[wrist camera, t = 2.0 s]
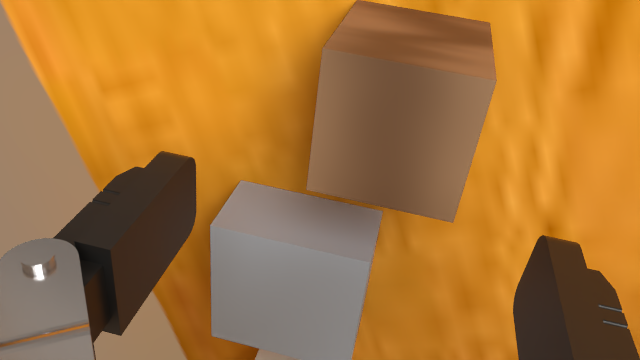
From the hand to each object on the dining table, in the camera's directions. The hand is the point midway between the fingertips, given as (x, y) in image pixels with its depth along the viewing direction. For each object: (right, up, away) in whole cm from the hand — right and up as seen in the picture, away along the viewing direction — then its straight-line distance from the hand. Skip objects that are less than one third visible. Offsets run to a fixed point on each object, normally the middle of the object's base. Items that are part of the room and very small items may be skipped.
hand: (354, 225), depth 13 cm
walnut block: (+3, +5, +9) cm, 11 cm away
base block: (-2, -2, +15) cm, 16 cm away
